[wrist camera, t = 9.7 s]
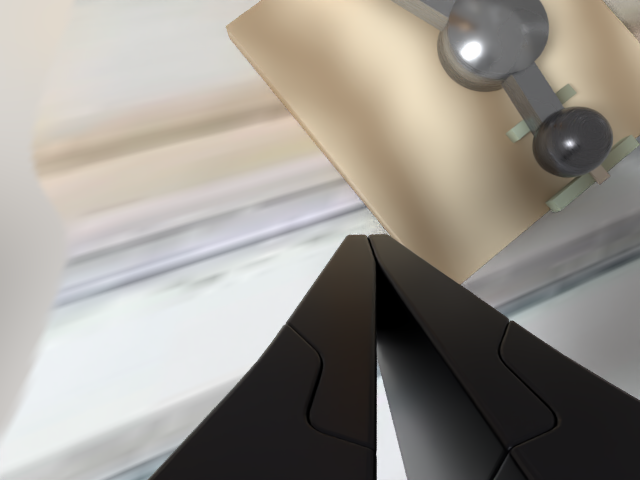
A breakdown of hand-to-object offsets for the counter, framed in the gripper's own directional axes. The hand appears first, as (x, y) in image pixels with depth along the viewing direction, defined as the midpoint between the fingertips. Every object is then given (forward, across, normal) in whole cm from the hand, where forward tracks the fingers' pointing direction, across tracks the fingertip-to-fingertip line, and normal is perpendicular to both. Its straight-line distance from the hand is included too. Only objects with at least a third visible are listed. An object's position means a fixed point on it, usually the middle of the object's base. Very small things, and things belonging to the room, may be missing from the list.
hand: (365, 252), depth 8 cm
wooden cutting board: (+15, +6, -1) cm, 16 cm away
